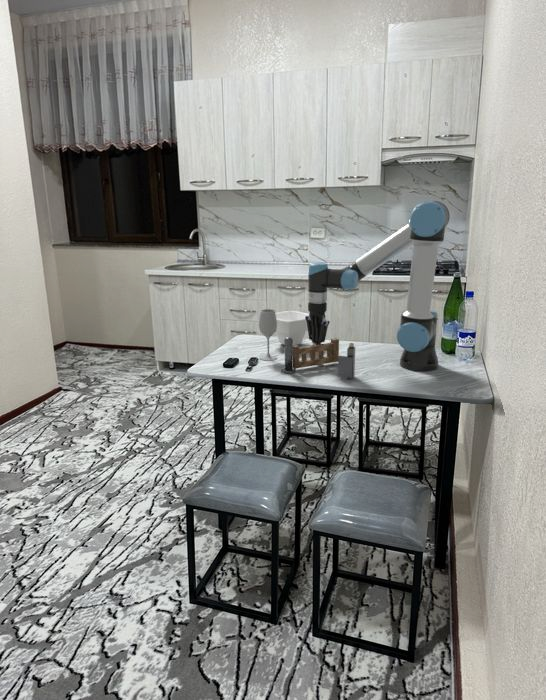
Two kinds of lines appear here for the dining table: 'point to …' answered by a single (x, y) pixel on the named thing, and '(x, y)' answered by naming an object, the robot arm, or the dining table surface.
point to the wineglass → (268, 329)
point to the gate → (304, 362)
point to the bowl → (291, 326)
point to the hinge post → (288, 357)
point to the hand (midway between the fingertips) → (316, 357)
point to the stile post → (347, 363)
